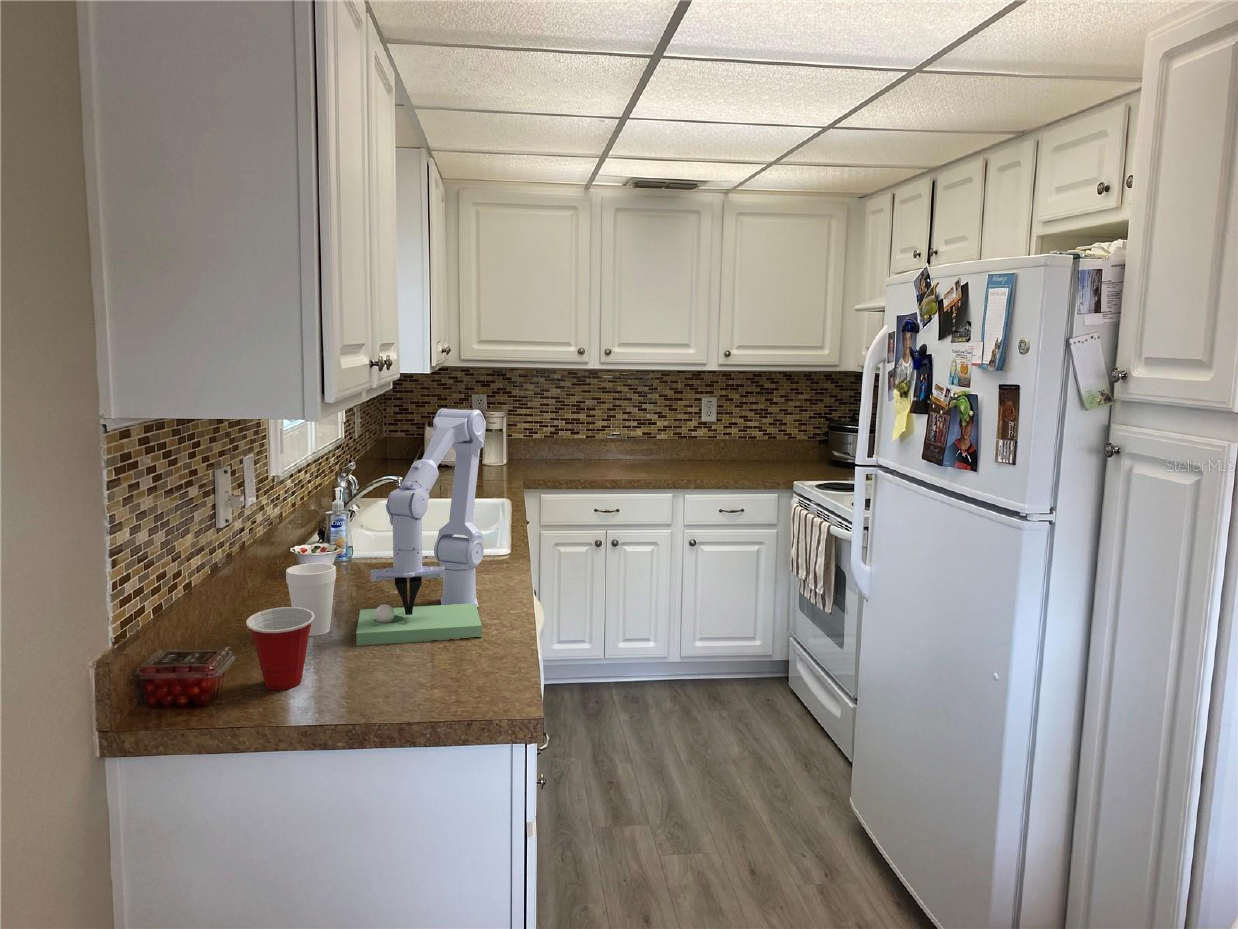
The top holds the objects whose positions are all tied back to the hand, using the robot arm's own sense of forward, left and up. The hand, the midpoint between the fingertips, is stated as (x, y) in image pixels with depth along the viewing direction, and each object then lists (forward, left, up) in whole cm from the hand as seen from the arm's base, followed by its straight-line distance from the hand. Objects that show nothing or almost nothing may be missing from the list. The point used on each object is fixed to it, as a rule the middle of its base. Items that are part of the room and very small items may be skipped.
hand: (408, 613), depth 177 cm
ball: (0, -5, 0) cm, 5 cm away
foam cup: (-3, -19, -4) cm, 20 cm away
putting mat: (0, +2, -4) cm, 4 cm away
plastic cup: (+26, -21, -4) cm, 33 cm away
